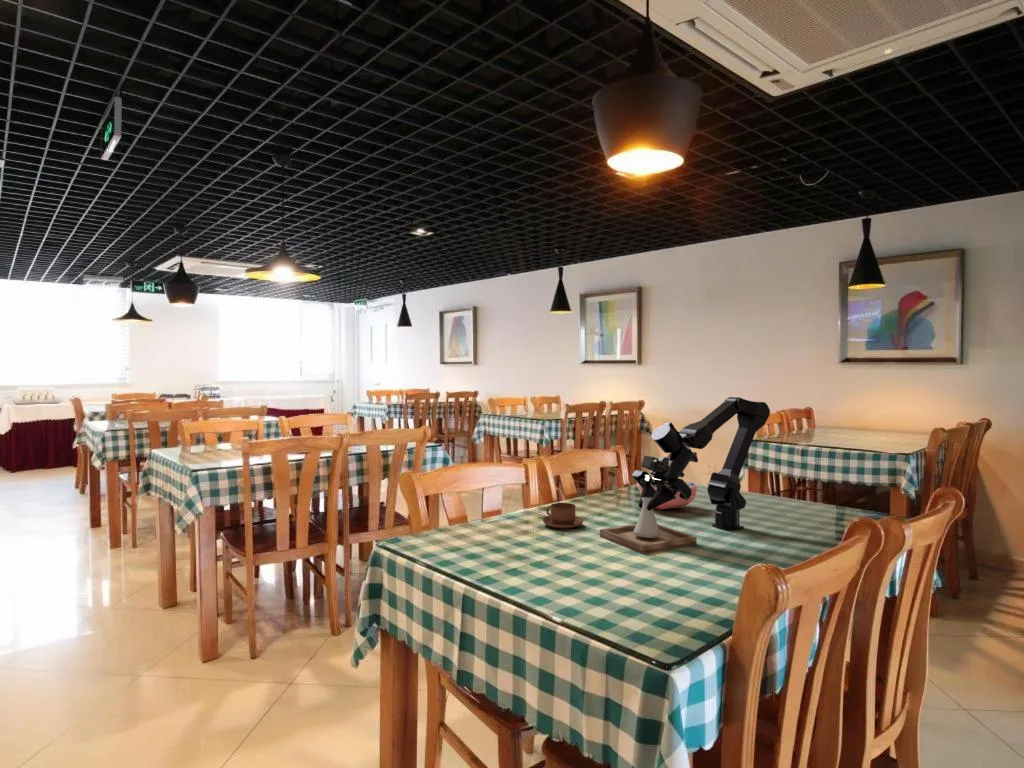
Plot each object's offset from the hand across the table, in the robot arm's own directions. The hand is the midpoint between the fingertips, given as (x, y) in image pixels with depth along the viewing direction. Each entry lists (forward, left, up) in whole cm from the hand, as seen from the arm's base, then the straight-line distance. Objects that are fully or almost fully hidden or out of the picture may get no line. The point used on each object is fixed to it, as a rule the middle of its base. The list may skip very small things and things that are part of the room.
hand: (643, 508), depth 162 cm
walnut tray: (-1, 0, -9) cm, 9 cm away
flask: (-1, 0, -8) cm, 8 cm away
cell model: (-32, -27, -9) cm, 43 cm away
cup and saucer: (+10, -24, -9) cm, 28 cm away
